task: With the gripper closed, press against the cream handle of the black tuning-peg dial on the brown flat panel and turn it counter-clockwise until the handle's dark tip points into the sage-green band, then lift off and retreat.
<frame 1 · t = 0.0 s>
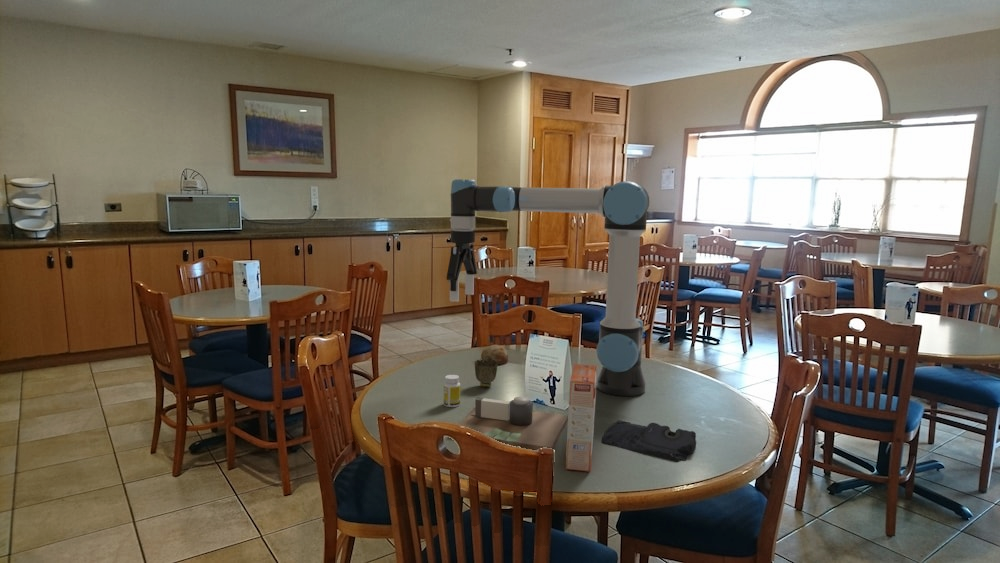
hand: (462, 297, 189), 28 cm above the table, tool pointing down, fingers open, 13 cm apart
supplement bottle: (451, 405, 174), on the table
bread roll: (494, 361, 220), on the table
cracker box: (579, 459, 141), on the table
brown flat panel: (520, 426, 159), on the table
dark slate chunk: (648, 445, 151), on the table
peg dial: (504, 407, 160), point 5 cm above the table, hinge at 0.0°
cup: (485, 387, 191), on the table
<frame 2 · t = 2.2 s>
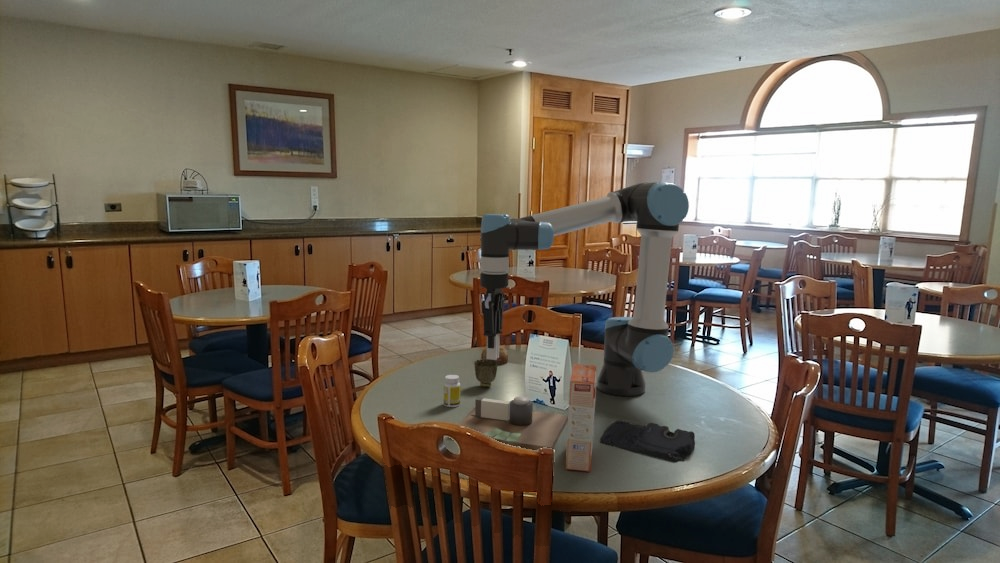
hand: (492, 358, 164), 16 cm above the table, tool pointing down, fingers closed
nothing on the table moved.
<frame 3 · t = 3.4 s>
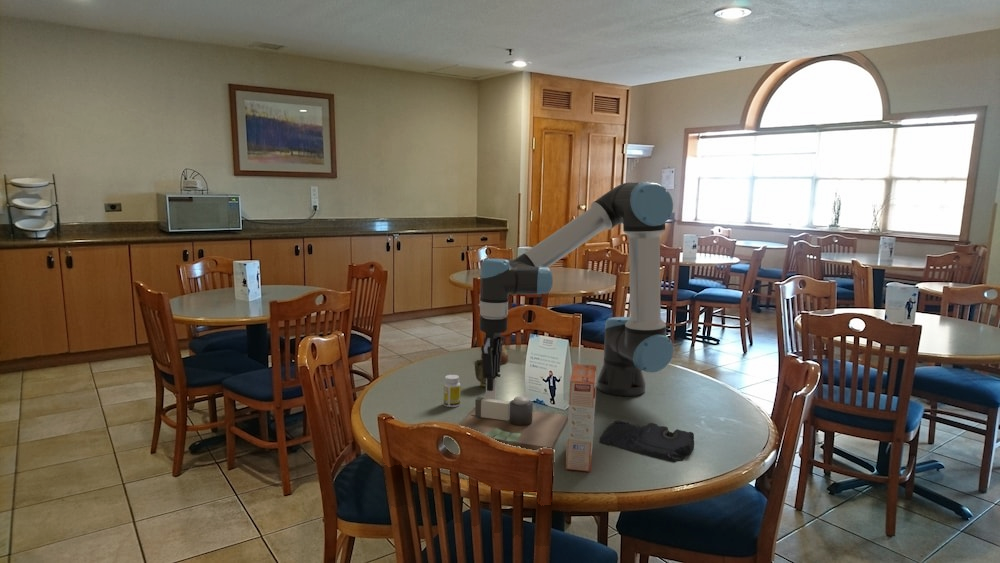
hand: (491, 400, 165), 4 cm above the table, tool pointing down, fingers closed
nothing on the table moved.
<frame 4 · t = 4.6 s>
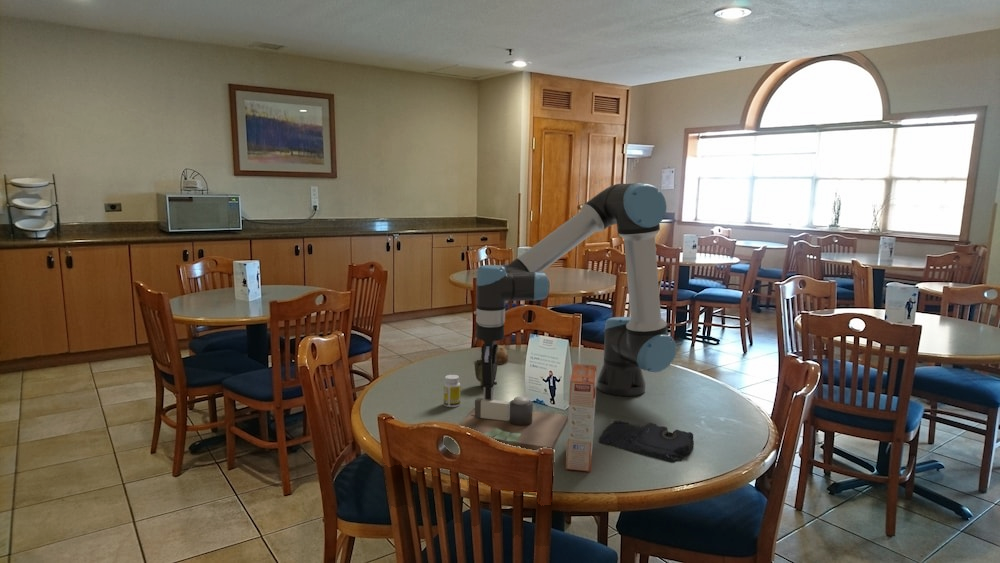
hand: (488, 409, 163), 3 cm above the table, tool pointing down, fingers closed
peg dial: (503, 408, 159), point 5 cm above the table, hinge at 2.5°, touching gripper
everything else where it was.
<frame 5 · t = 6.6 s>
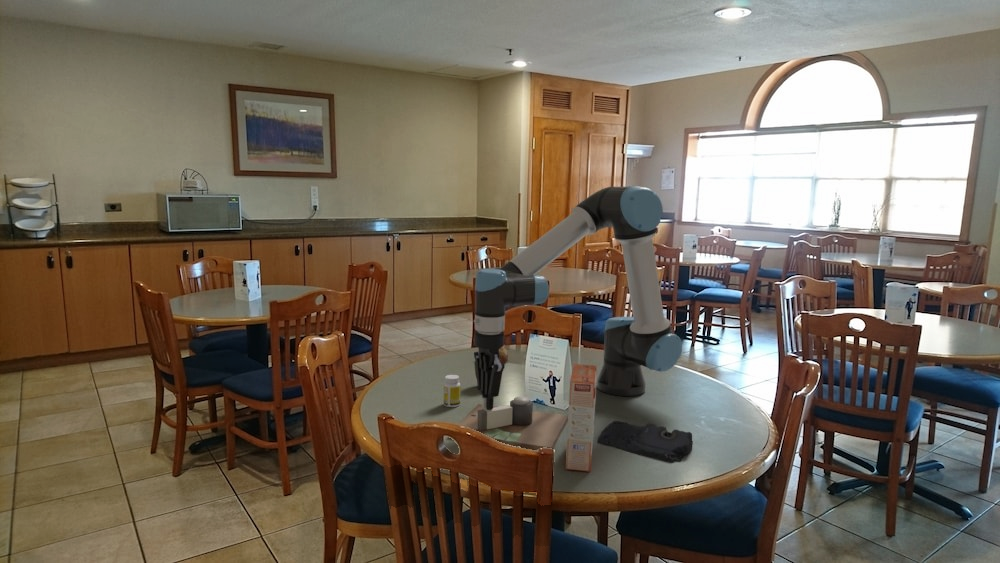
hand: (487, 419, 155), 3 cm above the table, tool pointing down, fingers closed
peg dial: (505, 413, 156), point 5 cm above the table, hinge at 46.6°, touching gripper
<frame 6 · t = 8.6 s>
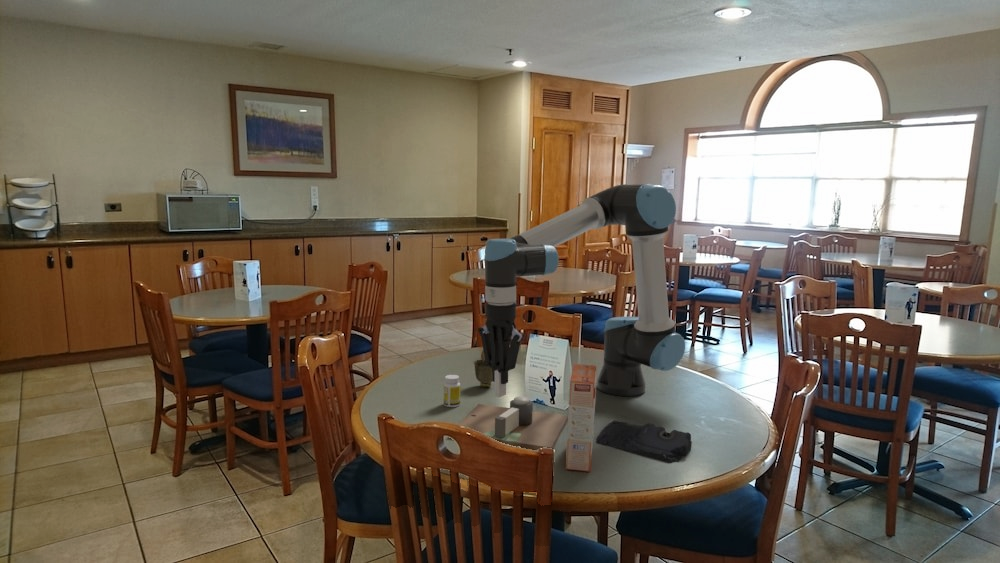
hand: (500, 395, 150), 11 cm above the table, tool pointing down, fingers closed
peg dial: (513, 415, 154), point 5 cm above the table, hinge at 78.4°
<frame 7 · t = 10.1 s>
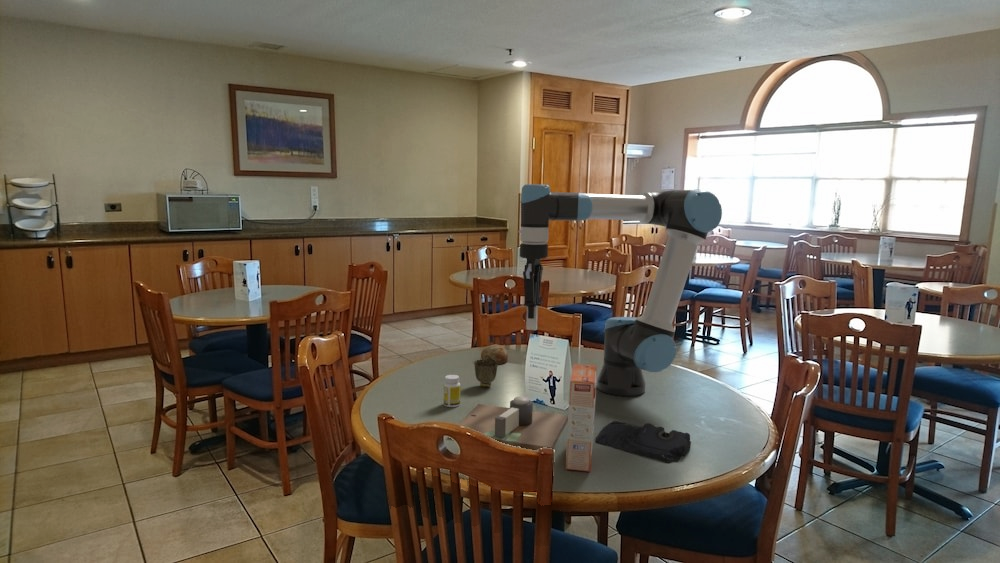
hand: (531, 329, 164), 24 cm above the table, tool pointing down, fingers closed
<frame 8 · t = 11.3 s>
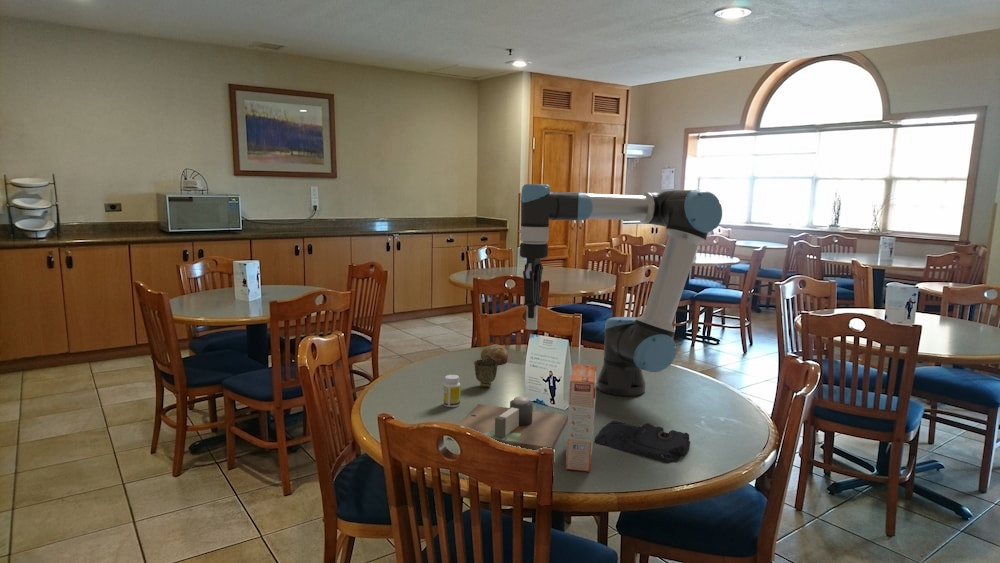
hand: (531, 328, 164), 24 cm above the table, tool pointing down, fingers closed
at the end: peg dial at +78° (first picture: +0°) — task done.
